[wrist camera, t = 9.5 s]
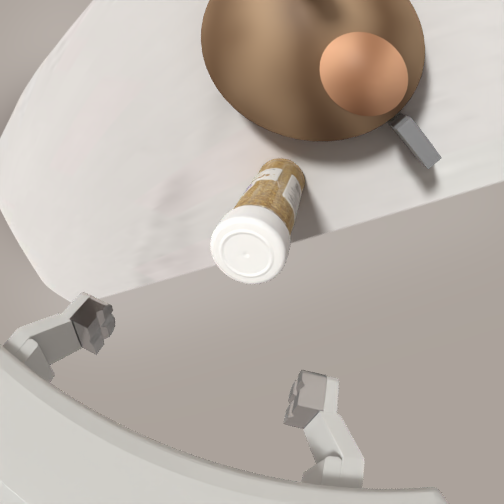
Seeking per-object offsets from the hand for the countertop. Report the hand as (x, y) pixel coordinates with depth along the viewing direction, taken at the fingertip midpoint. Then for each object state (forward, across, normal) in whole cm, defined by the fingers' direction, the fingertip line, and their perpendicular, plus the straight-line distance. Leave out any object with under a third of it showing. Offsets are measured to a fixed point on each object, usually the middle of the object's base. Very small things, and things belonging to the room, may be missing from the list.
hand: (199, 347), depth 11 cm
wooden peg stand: (+20, 0, -14) cm, 25 cm away
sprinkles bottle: (+20, 0, 0) cm, 21 cm away
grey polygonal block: (+20, -10, -8) cm, 24 cm away
